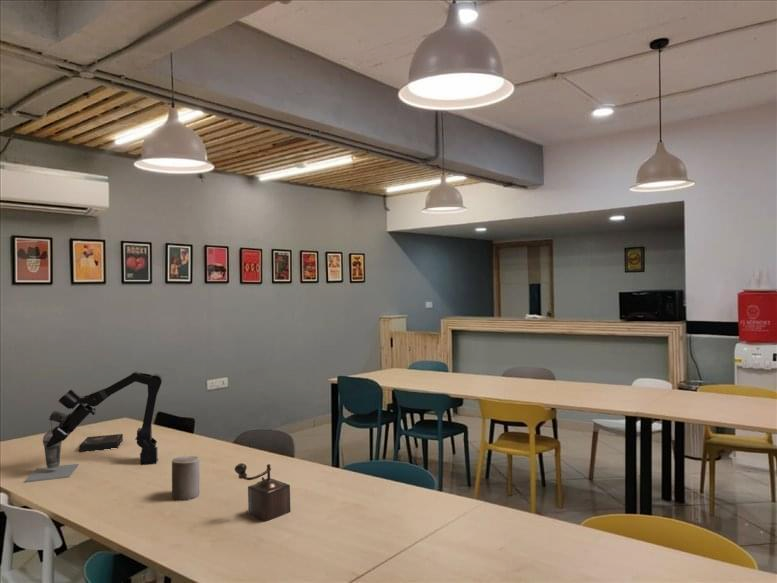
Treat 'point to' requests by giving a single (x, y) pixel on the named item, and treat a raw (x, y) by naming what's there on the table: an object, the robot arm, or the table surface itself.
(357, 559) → the table surface
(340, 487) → the table surface
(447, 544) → the table surface
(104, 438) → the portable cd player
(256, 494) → the manual coffee grinder
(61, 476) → the rubber mat
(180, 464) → the pillar candle
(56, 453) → the beverage cup
